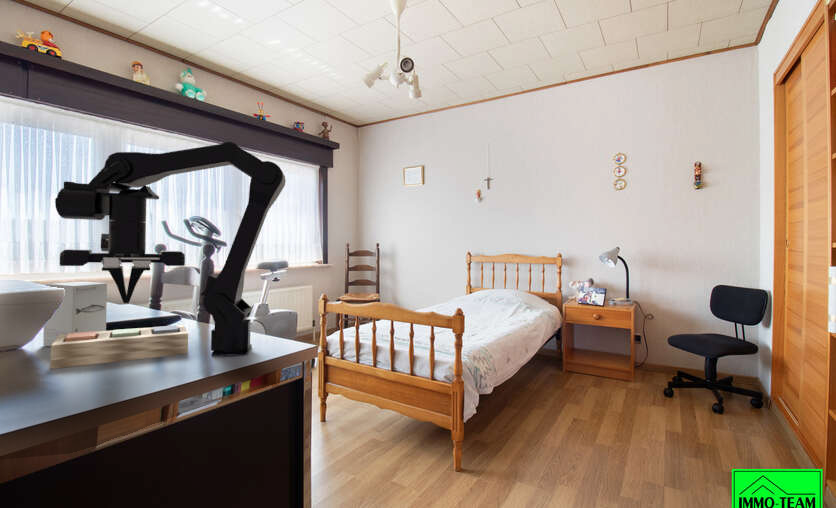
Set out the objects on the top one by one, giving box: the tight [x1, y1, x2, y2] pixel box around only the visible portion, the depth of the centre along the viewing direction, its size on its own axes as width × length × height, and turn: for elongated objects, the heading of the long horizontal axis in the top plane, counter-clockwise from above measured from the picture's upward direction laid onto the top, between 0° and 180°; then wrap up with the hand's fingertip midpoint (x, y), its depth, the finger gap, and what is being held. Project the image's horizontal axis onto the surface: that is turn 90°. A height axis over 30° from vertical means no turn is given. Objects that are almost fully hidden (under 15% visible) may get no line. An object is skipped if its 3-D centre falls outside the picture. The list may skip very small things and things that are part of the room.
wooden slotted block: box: [50, 324, 189, 370], centre depth 77 cm, size 20×9×4 cm, turn 125°
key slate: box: [152, 325, 178, 334], centre depth 80 cm, size 4×4×2 cm
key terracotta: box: [66, 331, 97, 341], centre depth 73 cm, size 4×4×2 cm
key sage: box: [112, 327, 140, 338], centre depth 77 cm, size 4×4×2 cm
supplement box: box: [42, 281, 108, 347], centre depth 83 cm, size 7×7×13 cm
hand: (126, 303), depth 76 cm, fingers closed
